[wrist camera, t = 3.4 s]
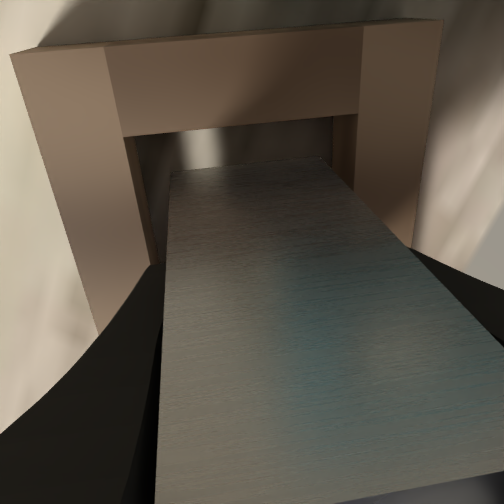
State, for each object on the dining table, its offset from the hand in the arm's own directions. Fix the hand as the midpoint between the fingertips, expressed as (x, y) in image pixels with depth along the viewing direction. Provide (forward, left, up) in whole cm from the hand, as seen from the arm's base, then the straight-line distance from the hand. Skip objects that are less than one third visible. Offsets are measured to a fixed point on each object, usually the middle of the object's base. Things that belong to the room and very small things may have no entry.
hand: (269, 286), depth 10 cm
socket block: (0, 0, -5) cm, 5 cm away
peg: (0, 0, -3) cm, 3 cm away
